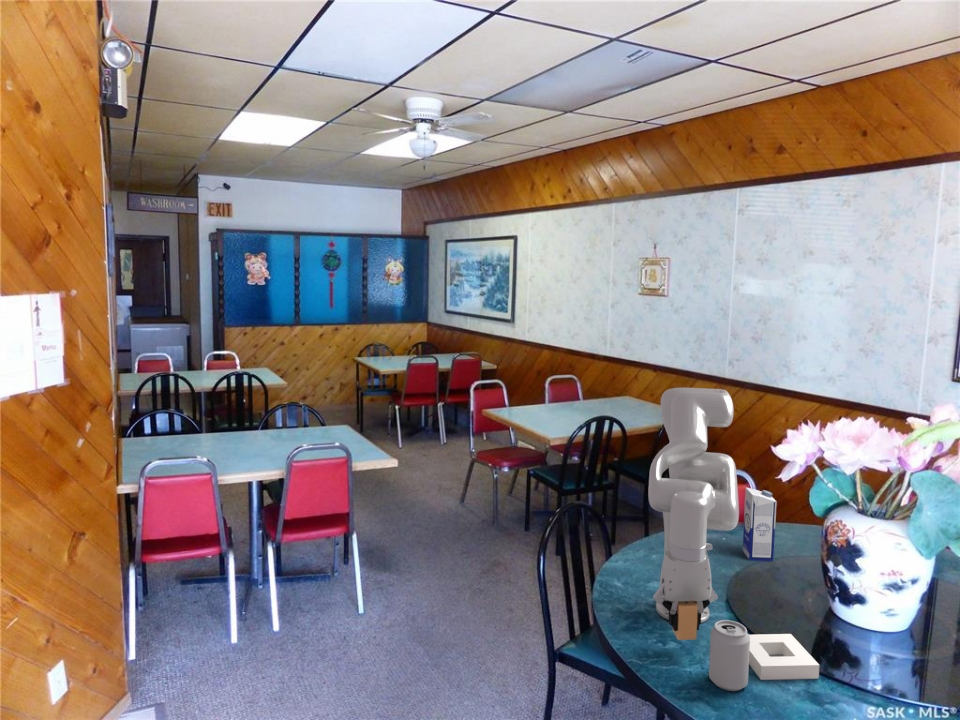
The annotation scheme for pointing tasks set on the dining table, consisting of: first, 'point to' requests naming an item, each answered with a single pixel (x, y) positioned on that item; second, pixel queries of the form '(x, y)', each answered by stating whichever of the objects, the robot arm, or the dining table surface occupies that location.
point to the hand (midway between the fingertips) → (684, 626)
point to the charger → (687, 620)
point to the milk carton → (759, 525)
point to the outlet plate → (781, 658)
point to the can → (729, 655)
